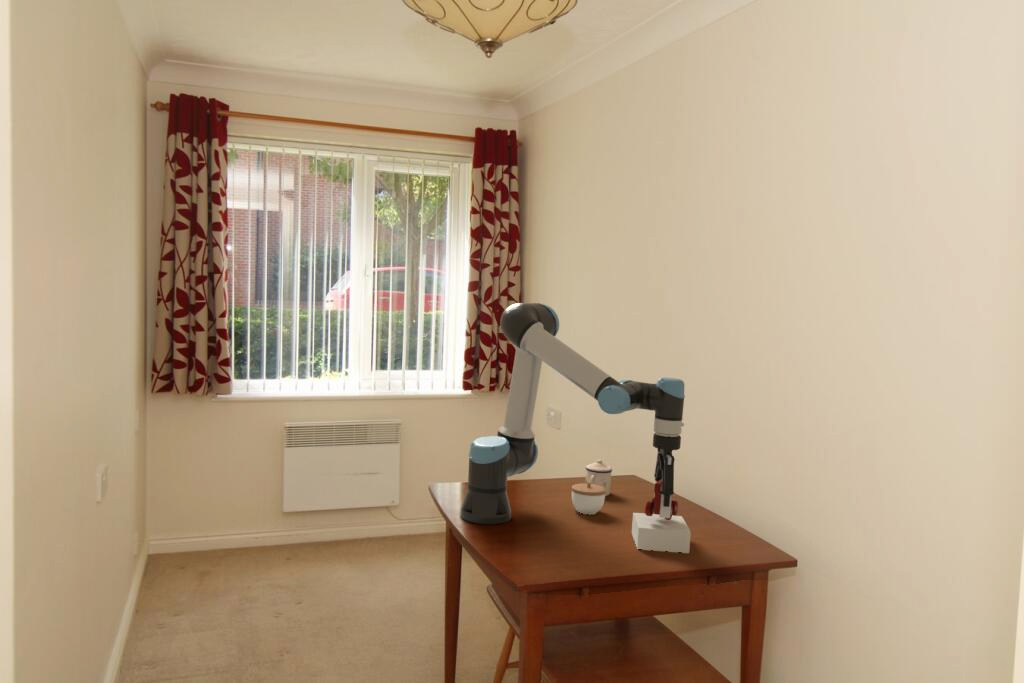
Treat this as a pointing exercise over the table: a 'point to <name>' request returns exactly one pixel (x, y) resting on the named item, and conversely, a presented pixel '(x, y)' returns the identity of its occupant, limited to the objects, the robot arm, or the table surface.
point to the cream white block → (660, 533)
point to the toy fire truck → (656, 501)
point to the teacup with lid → (599, 475)
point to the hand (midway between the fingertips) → (661, 511)
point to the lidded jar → (588, 497)
